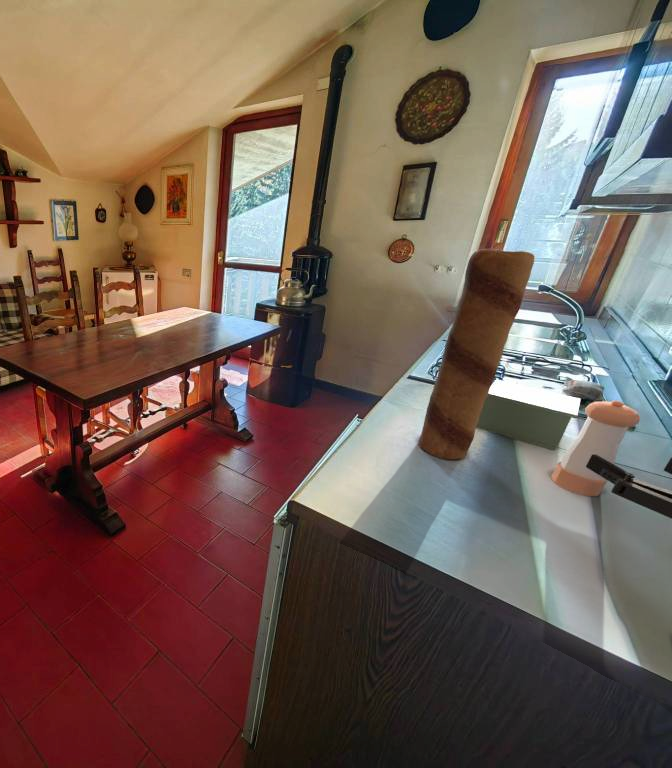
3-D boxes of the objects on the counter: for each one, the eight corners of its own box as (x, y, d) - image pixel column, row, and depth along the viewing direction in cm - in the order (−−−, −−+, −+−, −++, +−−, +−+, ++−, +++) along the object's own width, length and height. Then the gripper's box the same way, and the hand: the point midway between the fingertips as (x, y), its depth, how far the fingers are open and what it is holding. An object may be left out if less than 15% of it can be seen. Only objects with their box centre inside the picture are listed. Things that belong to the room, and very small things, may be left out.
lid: (579, 401, 97) (580, 398, 97) (576, 418, 88) (577, 415, 88) (495, 382, 109) (496, 379, 108) (484, 395, 100) (485, 392, 99)
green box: (560, 431, 101) (575, 400, 98) (555, 451, 92) (571, 417, 89) (484, 411, 112) (495, 382, 109) (473, 426, 103) (484, 395, 100)
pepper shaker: (599, 485, 80) (645, 402, 73) (600, 501, 76) (649, 414, 68) (551, 470, 85) (590, 390, 78) (549, 484, 80) (590, 400, 73)
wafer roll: (408, 434, 99) (464, 247, 81) (456, 441, 96) (525, 249, 78) (420, 455, 90) (486, 250, 72) (473, 464, 87) (556, 252, 69)
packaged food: (559, 397, 122) (566, 383, 120) (561, 387, 129) (568, 374, 127) (599, 407, 116) (607, 392, 114) (599, 396, 123) (606, 382, 121)
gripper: (685, 569, 53) (550, 476, 73) (881, 580, 52) (691, 482, 72) (716, 527, 50) (567, 441, 70) (925, 537, 49) (714, 447, 69)
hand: (629, 462), depth 71 cm, fingers open, 13 cm apart
